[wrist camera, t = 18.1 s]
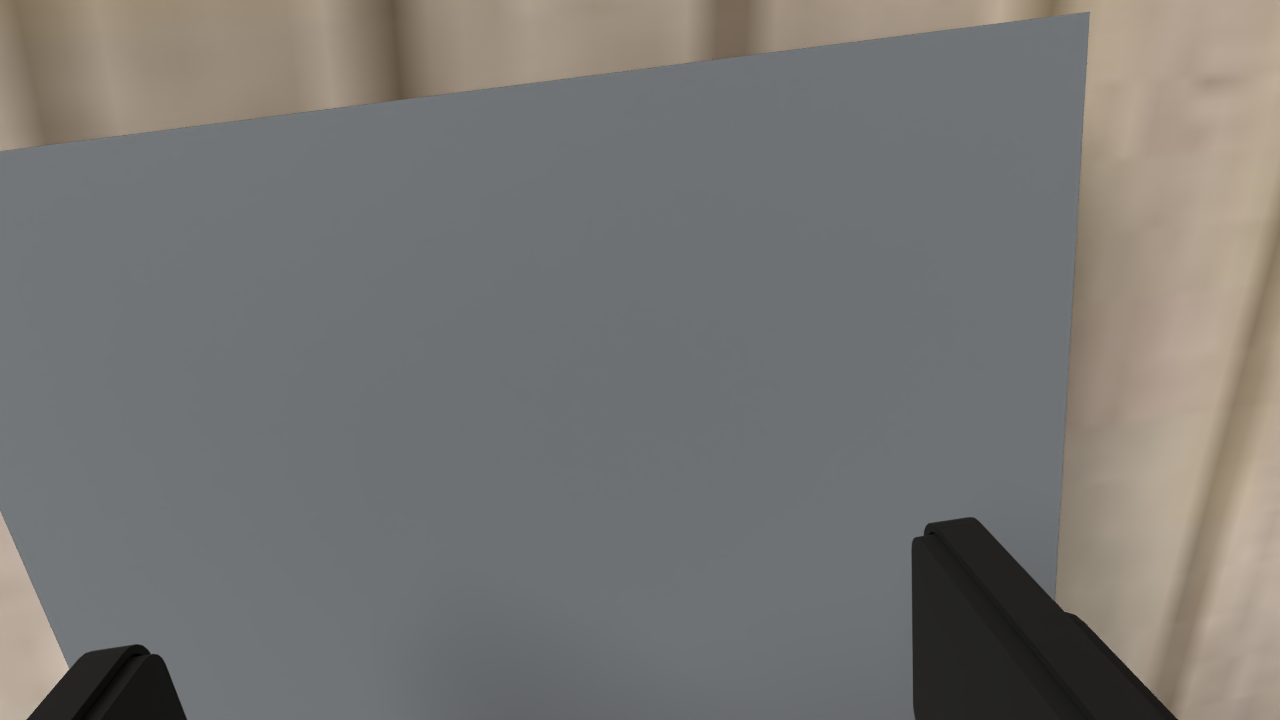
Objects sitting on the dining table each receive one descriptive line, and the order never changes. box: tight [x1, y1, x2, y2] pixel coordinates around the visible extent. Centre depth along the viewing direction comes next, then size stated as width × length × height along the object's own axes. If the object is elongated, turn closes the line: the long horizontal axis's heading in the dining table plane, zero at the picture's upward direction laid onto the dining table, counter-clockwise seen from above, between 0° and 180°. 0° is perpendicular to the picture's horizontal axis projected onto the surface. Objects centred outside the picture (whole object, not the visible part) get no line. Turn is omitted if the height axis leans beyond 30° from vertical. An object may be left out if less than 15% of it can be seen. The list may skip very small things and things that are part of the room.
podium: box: [0, 12, 1090, 720], centre depth 16 cm, size 18×14×4 cm
